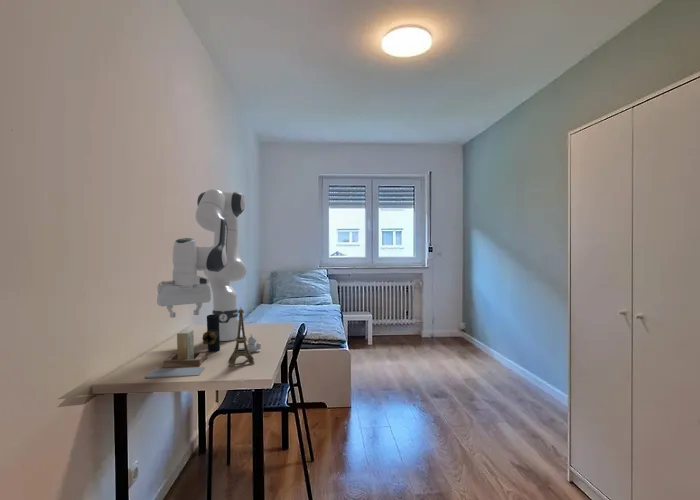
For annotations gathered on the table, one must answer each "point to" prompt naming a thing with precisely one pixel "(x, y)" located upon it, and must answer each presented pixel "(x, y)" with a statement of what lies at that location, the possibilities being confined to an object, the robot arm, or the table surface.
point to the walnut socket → (184, 361)
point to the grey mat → (175, 372)
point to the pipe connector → (212, 333)
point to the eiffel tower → (239, 339)
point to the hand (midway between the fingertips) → (184, 316)
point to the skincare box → (185, 344)
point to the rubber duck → (253, 345)
